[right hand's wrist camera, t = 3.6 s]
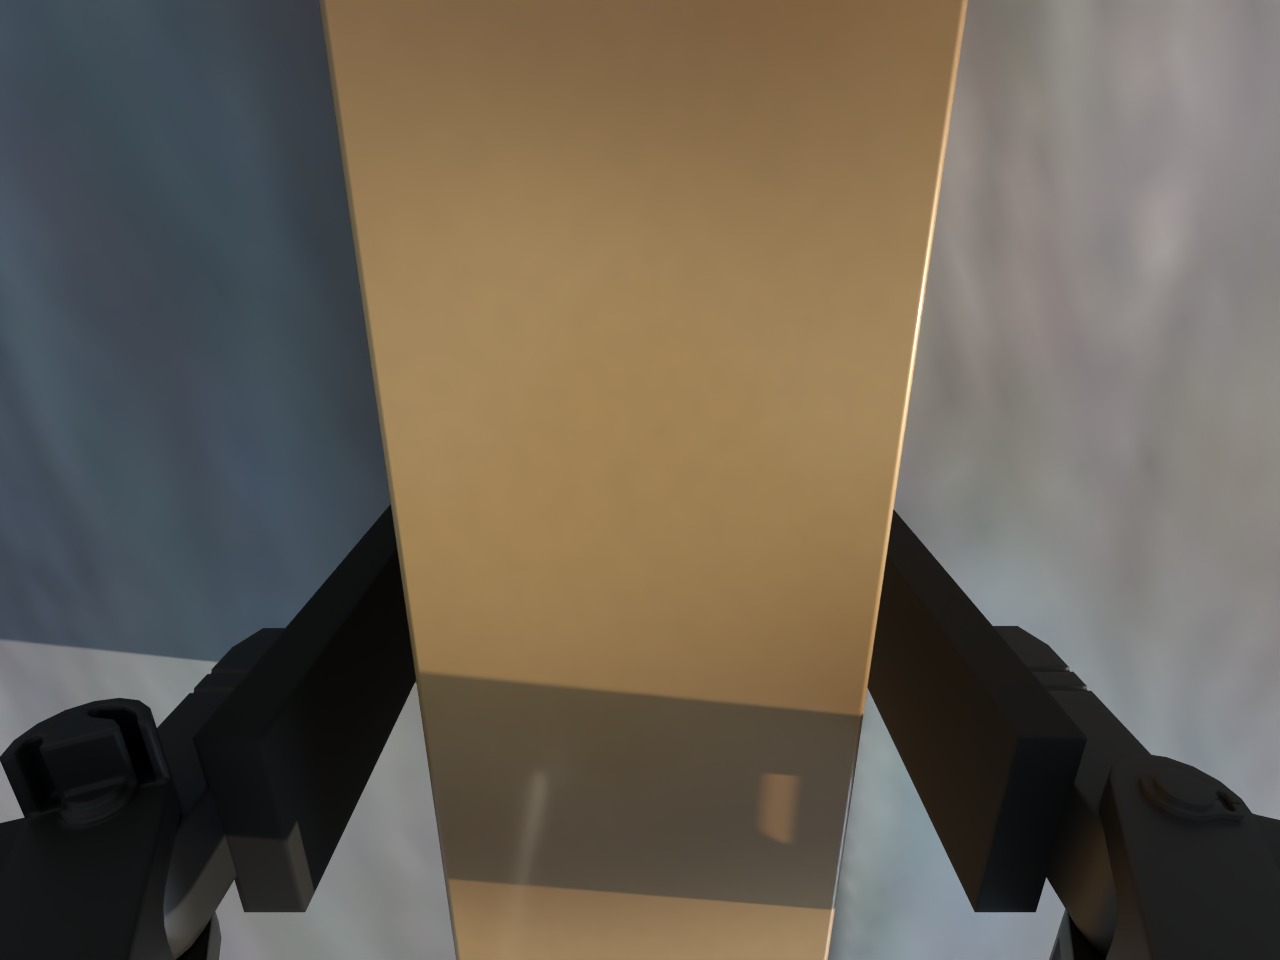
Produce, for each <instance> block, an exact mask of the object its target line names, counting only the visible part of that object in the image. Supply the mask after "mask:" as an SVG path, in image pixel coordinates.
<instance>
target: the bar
mask: <svg viewBox="0 0 1280 960" xmlns="http://www.w3.org/2000/svg"><path fill="white" fill-rule="evenodd" d="M967 2H968V0H319V6H320V13H321V20H322V27H323V34H324V41H325V48H326V55H327V62H328V69H329V76H330V83H331V90H332V97H333V104H334V111H335V118H336V124H337V131H338V138H339V145H340V152H341V159H342V166H343V173H344V180H345V187H346V194H347V201H348V208H349V215H350V222H351V229H352V236H353V243H354V250H355V257H356V264H357V271H358V278H359V285H360V292H361V299H362V306H363V313H364V320H365V327H366V334H367V341H368V348H369V355H370V361H371V368H372V375H373V382H374V389H375V396H376V403H377V410H378V417H379V424H380V431H381V438H382V445H383V452H384V459H385V466H386V473H387V480H388V487H389V494H390V501H391V508H392V515H393V522H394V529H395V536H396V543H397V550H398V557H399V564H400V571H401V578H402V585H403V591H404V598H405V605H406V612H407V619H408V626H409V633H410V640H411V647H412V654H413V661H414V668H415V675H416V682H417V689H418V696H419V703H420V710H421V717H422V724H423V731H424V738H425V745H426V752H427V759H428V766H429V773H430V780H431V787H432V794H433V801H434V808H435V815H436V822H437V828H438V835H439V842H440V849H441V856H442V863H443V870H444V877H445V884H446V891H447V898H448V905H449V912H450V919H451V926H452V933H453V940H454V947H455V954H456V960H827V959H828V952H829V945H830V938H831V932H832V925H833V918H834V911H835V904H836V897H837V891H838V884H839V877H840V870H841V863H842V856H843V850H844V843H845V836H846V829H847V822H848V815H849V809H850V802H851V795H852V788H853V781H854V774H855V768H856V761H857V754H858V747H859V740H860V733H861V727H862V720H863V713H864V706H865V699H866V692H867V686H868V679H869V672H870V665H871V658H872V651H873V645H874V638H875V631H876V624H877V617H878V610H879V604H880V597H881V590H882V583H883V576H884V569H885V563H886V556H887V549H888V542H889V535H890V528H891V522H892V515H893V508H894V501H895V494H896V487H897V481H898V474H899V467H900V460H901V453H902V446H903V440H904V433H905V426H906V419H907V412H908V405H909V399H910V392H911V385H912V378H913V371H914V364H915V358H916V351H917V344H918V337H919V330H920V323H921V317H922V310H923V303H924V296H925V289H926V282H927V276H928V269H929V262H930V255H931V248H932V241H933V235H934V228H935V221H936V214H937V207H938V200H939V194H940V187H941V180H942V173H943V166H944V159H945V153H946V146H947V139H948V132H949V125H950V118H951V112H952V105H953V98H954V91H955V84H956V77H957V71H958V64H959V57H960V50H961V43H962V36H963V30H964V23H965V16H966V9H967Z"/></svg>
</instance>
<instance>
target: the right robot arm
mask: <svg viewBox="0 0 1280 960" xmlns="http://www.w3.org/2000/svg"><path fill="white" fill-rule="evenodd" d="M415 681H416V675H415V668H414V661H413V654H412V647H411V640H410V633H409V626H408V619H407V612H406V605H405V598H404V591H403V585H402V578H401V571H400V564H399V557H398V550H397V543H396V536H395V529H394V522H393V515H392V508H391V505H390V506H389V507H388V508H387V509H386V510H385V512H384V513H383V514H382V515H381V516H380V518H379V519H378V520H377V521H376V522H375V523H374V525H373V526H372V527H371V528H370V529H369V530H368V532H367V533H366V534H365V535H364V536H363V538H362V539H361V540H360V541H359V542H358V543H357V545H356V546H355V547H354V548H353V549H352V551H351V552H350V553H349V554H348V555H347V556H346V558H345V559H344V560H343V561H342V562H341V563H340V565H339V566H338V567H337V568H336V569H335V571H334V572H333V573H332V574H331V575H330V576H329V578H328V579H327V580H326V581H325V582H324V584H323V585H322V586H321V587H320V588H319V589H318V591H317V592H316V593H315V594H314V595H313V596H312V598H311V599H310V600H309V601H308V602H307V604H306V605H305V606H304V607H303V608H302V609H301V611H300V612H299V613H298V614H297V615H296V616H295V618H294V619H293V620H292V621H291V622H290V624H289V625H288V626H287V627H286V628H263V629H261V630H260V631H258V632H256V633H255V634H253V635H252V636H250V637H248V638H247V639H245V640H243V641H242V642H240V643H239V644H237V645H235V646H234V647H232V648H231V649H230V650H229V652H228V653H227V654H226V655H225V656H224V657H223V658H222V659H221V660H220V661H219V662H218V663H217V664H216V665H215V667H214V668H213V669H212V672H211V674H207V675H206V676H205V677H204V678H203V679H202V680H201V682H200V683H199V684H198V685H197V686H196V687H195V688H194V693H189V694H188V695H187V697H186V698H185V699H184V700H183V701H182V702H181V703H180V704H179V705H178V706H177V707H176V708H175V709H174V710H173V712H172V713H171V714H170V715H169V716H168V717H167V718H166V719H165V720H164V721H163V722H162V723H161V724H160V725H159V727H158V728H156V725H155V721H154V718H153V715H152V712H151V709H150V708H149V707H148V706H146V705H145V704H144V703H142V702H141V701H139V700H132V699H124V698H115V699H108V700H100V701H93V702H90V703H87V704H84V705H81V706H77V707H74V708H71V709H68V710H65V711H63V712H61V713H59V714H57V715H55V716H53V717H50V718H48V719H46V720H44V721H42V722H40V723H38V724H36V725H35V726H34V727H32V728H31V729H29V730H28V731H27V732H25V733H24V734H22V735H21V736H20V737H18V738H17V739H15V740H14V741H13V742H12V743H11V745H10V746H9V747H8V748H7V749H6V750H5V752H4V753H3V754H2V755H1V756H0V761H1V764H2V766H3V768H4V771H5V773H6V775H7V777H8V780H9V782H10V784H11V787H12V789H13V791H14V794H15V796H16V798H17V801H18V803H19V805H20V808H21V810H22V812H23V814H24V817H25V818H21V819H17V820H12V821H8V822H4V823H0V960H219V954H220V945H221V933H220V927H219V921H218V918H217V915H216V912H215V910H216V909H217V907H218V905H219V904H220V902H221V901H222V899H223V897H224V896H225V894H226V892H227V891H228V889H229V887H230V886H231V884H232V882H233V881H234V879H235V883H236V886H237V889H238V893H239V896H240V899H241V903H242V906H243V910H244V912H305V911H306V909H307V907H308V905H309V903H310V901H311V899H312V897H313V895H314V893H315V890H316V888H317V886H318V884H319V882H320V880H321V878H322V876H323V874H324V872H325V869H326V867H327V865H328V863H329V861H330V859H331V857H332V855H333V853H334V851H335V849H336V846H337V844H338V842H339V840H340V838H341V836H342V834H343V832H344V830H345V828H346V825H347V823H348V821H349V819H350V817H351V815H352V813H353V811H354V809H355V807H356V805H357V802H358V800H359V798H360V796H361V794H362V792H363V790H364V788H365V786H366V784H367V782H368V779H369V777H370V775H371V773H372V771H373V769H374V767H375V765H376V763H377V761H378V758H379V756H380V754H381V752H382V750H383V748H384V746H385V744H386V742H387V740H388V738H389V735H390V733H391V731H392V729H393V727H394V725H395V723H396V721H397V719H398V717H399V714H400V712H401V710H402V708H403V706H404V704H405V702H406V700H407V698H408V696H409V694H410V691H411V689H412V687H413V685H414V683H415ZM867 687H868V689H869V691H870V694H871V696H872V698H873V700H874V702H875V704H876V706H877V708H878V710H879V712H880V714H881V717H882V719H883V721H884V723H885V725H886V727H887V729H888V731H889V733H890V735H891V738H892V740H893V742H894V744H895V746H896V748H897V750H898V752H899V754H900V756H901V758H902V761H903V763H904V765H905V767H906V769H907V771H908V773H909V775H910V777H911V779H912V782H913V784H914V786H915V788H916V790H917V792H918V794H919V796H920V798H921V800H922V802H923V805H924V807H925V809H926V811H927V813H928V815H929V817H930V819H931V821H932V823H933V826H934V828H935V830H936V832H937V834H938V836H939V838H940V840H941V842H942V844H943V846H944V849H945V851H946V853H947V855H948V857H949V859H950V861H951V863H952V865H953V867H954V870H955V872H956V874H957V876H958V878H959V880H960V882H961V884H962V886H963V888H964V890H965V893H966V895H967V897H968V899H969V901H970V903H971V905H972V907H973V909H974V911H975V912H1036V909H1037V906H1038V903H1039V899H1040V896H1041V893H1042V889H1043V886H1044V883H1045V879H1046V877H1047V879H1048V880H1049V882H1050V884H1051V885H1052V887H1053V889H1054V890H1055V892H1056V894H1057V895H1058V897H1059V898H1060V900H1061V902H1062V903H1063V905H1064V907H1065V908H1066V909H1065V912H1064V915H1063V918H1062V921H1061V925H1060V928H1059V931H1058V934H1057V937H1056V940H1055V943H1054V946H1053V950H1052V953H1051V956H1050V959H1049V960H1280V820H1277V819H1272V818H1268V817H1264V816H1259V815H1255V814H1252V813H1251V811H1250V810H1249V809H1248V807H1247V806H1246V804H1245V803H1244V802H1243V800H1242V799H1241V798H1240V797H1238V796H1237V795H1236V794H1235V793H1234V792H1232V791H1231V790H1230V789H1229V788H1227V787H1226V786H1225V785H1224V784H1223V783H1221V782H1220V781H1218V780H1217V779H1215V778H1213V777H1211V776H1209V775H1208V774H1206V773H1204V772H1202V771H1200V770H1198V769H1197V768H1195V767H1193V766H1190V765H1187V764H1184V763H1181V762H1179V761H1176V760H1173V759H1170V758H1167V757H1162V756H1155V755H1151V754H1150V753H1149V752H1148V751H1147V750H1146V749H1145V748H1144V747H1143V745H1142V744H1141V743H1140V742H1139V741H1138V740H1137V739H1136V738H1135V737H1134V736H1133V735H1132V734H1131V733H1130V732H1129V731H1128V730H1127V728H1126V727H1125V726H1124V725H1123V724H1122V723H1121V722H1120V721H1119V720H1118V719H1117V718H1116V717H1115V716H1114V715H1113V714H1112V712H1111V711H1110V710H1109V709H1108V708H1107V707H1106V706H1105V705H1104V704H1103V703H1102V702H1101V701H1100V700H1099V699H1098V698H1097V697H1096V695H1095V694H1094V693H1093V692H1092V691H1087V688H1086V687H1087V686H1086V685H1085V684H1084V683H1083V682H1082V681H1081V679H1080V678H1079V677H1078V676H1077V675H1076V674H1075V673H1074V672H1070V671H1069V667H1068V666H1067V665H1066V664H1065V662H1064V661H1063V660H1062V659H1061V658H1060V657H1059V656H1058V655H1057V654H1056V653H1055V652H1054V651H1053V650H1052V649H1051V648H1050V646H1049V645H1047V644H1046V643H1044V642H1042V641H1041V640H1039V639H1037V638H1036V637H1034V636H1033V635H1031V634H1029V633H1028V632H1026V631H1025V630H1023V629H1021V628H1020V627H1018V626H992V625H991V624H990V622H989V621H988V620H987V619H986V618H985V617H984V615H983V614H982V613H981V612H980V611H979V609H978V608H977V607H976V606H975V605H974V604H973V602H972V601H971V600H970V599H969V598H968V596H967V595H966V594H965V593H964V592H963V591H962V589H961V588H960V587H959V586H958V585H957V584H956V582H955V581H954V580H953V579H952V578H951V576H950V575H949V574H948V573H947V572H946V571H945V569H944V568H943V567H942V566H941V565H940V563H939V562H938V561H937V560H936V559H935V558H934V556H933V555H932V554H931V553H930V552H929V551H928V549H927V548H926V547H925V546H924V545H923V543H922V542H921V541H920V540H919V539H918V538H917V536H916V535H915V534H914V533H913V532H912V531H911V529H910V528H909V527H908V526H907V525H906V523H905V522H904V521H903V520H902V519H901V518H900V516H899V515H898V514H897V513H896V512H895V510H894V509H893V515H892V522H891V528H890V535H889V542H888V549H887V556H886V563H885V569H884V576H883V583H882V590H881V597H880V604H879V610H878V617H877V624H876V631H875V638H874V645H873V651H872V658H871V665H870V672H869V679H868V686H867Z"/></svg>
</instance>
